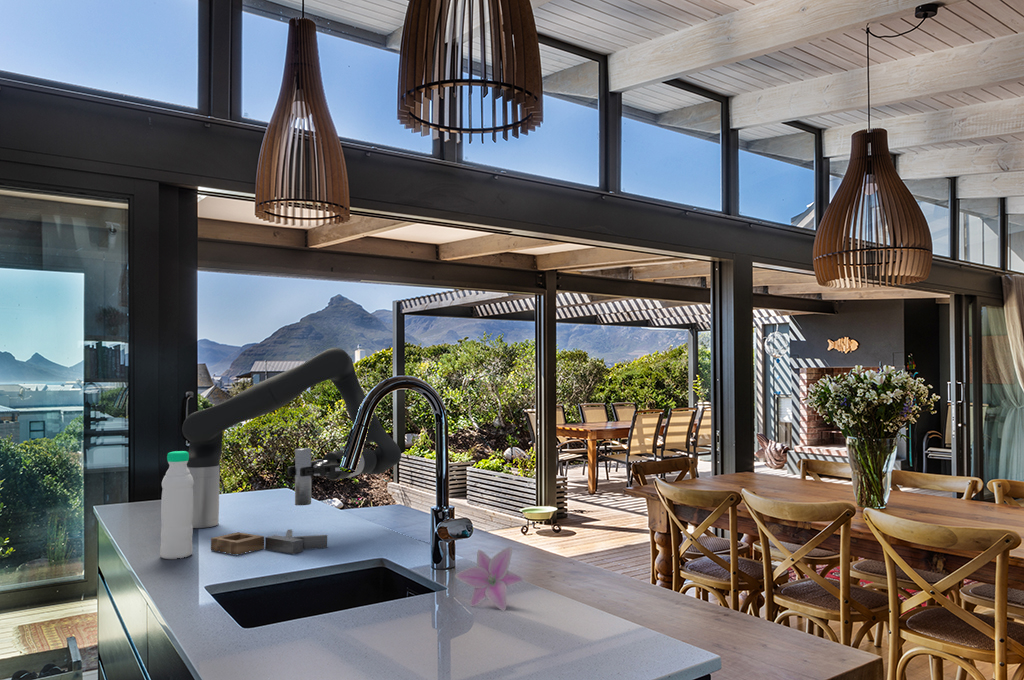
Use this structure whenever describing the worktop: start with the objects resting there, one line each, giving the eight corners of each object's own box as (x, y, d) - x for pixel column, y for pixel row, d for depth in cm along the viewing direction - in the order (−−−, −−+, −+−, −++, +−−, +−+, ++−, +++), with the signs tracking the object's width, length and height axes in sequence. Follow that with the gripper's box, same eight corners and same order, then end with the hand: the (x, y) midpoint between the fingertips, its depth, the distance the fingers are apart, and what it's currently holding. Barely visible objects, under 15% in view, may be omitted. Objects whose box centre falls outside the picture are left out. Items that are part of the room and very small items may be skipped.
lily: (449, 604, 140) (446, 567, 136) (490, 569, 148) (488, 533, 143) (495, 636, 133) (493, 598, 128) (536, 597, 141) (535, 560, 136)
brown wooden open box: (210, 550, 180) (211, 538, 180) (237, 543, 187) (238, 532, 187) (237, 555, 175) (237, 542, 175) (264, 548, 182) (264, 536, 182)
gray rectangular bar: (291, 504, 184) (291, 449, 185) (303, 502, 188) (303, 447, 189) (302, 505, 182) (302, 450, 183) (314, 503, 186) (314, 448, 186)
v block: (259, 548, 182) (259, 536, 182) (290, 540, 190) (290, 529, 190) (299, 555, 174) (299, 542, 175) (329, 547, 183) (329, 535, 183)
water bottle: (169, 561, 169) (171, 453, 171) (154, 557, 174) (156, 452, 175) (198, 555, 175) (199, 451, 176) (182, 551, 179) (184, 449, 181)
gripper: (324, 449, 202) (275, 455, 187) (362, 451, 194) (314, 458, 180) (324, 476, 201) (275, 484, 187) (362, 479, 194) (314, 488, 179)
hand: (294, 471), depth 183 cm, fingers closed on gray rectangular bar, 4 cm apart
